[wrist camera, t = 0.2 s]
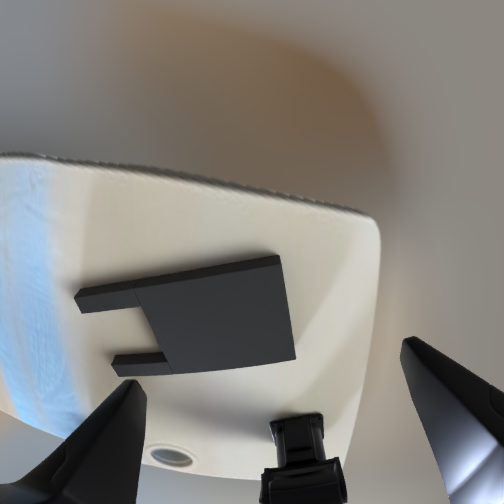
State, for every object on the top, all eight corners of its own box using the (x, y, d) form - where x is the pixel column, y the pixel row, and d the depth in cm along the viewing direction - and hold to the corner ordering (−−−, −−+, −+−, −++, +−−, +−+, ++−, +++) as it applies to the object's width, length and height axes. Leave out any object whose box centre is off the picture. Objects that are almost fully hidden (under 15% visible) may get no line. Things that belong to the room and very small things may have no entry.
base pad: (294, 348, 28) (296, 359, 27) (122, 367, 29) (118, 376, 28) (279, 254, 24) (281, 263, 22) (80, 288, 25) (73, 297, 24)
